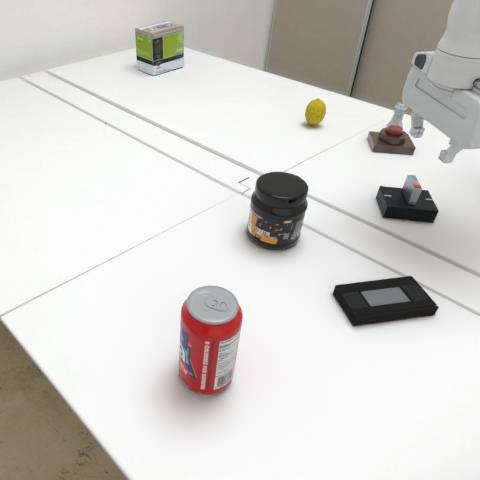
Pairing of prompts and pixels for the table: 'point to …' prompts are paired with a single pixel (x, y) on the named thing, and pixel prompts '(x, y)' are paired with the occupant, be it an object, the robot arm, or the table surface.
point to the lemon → (315, 111)
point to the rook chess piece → (398, 115)
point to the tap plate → (406, 205)
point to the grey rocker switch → (411, 189)
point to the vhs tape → (384, 300)
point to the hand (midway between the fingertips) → (429, 148)
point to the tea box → (159, 47)
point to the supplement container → (277, 210)
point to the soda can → (209, 339)
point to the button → (394, 130)
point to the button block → (390, 143)
